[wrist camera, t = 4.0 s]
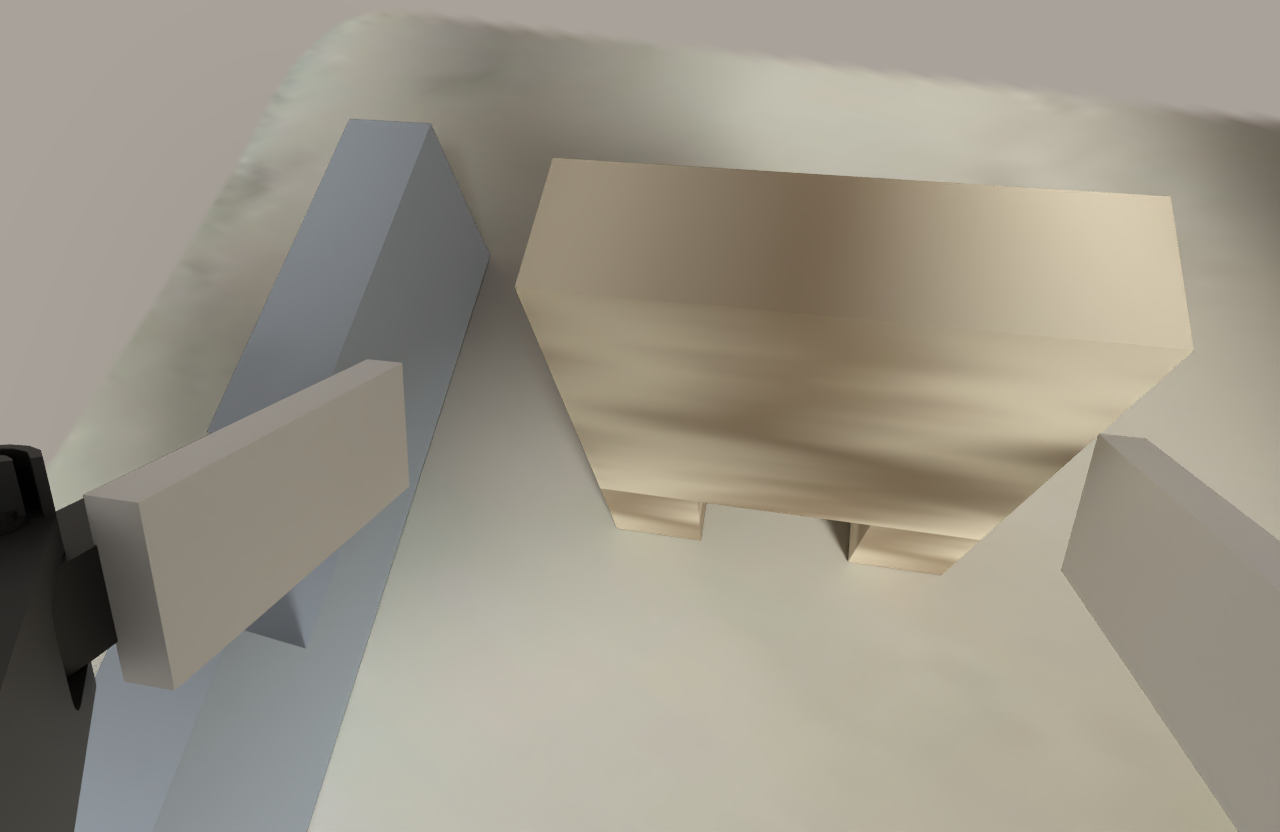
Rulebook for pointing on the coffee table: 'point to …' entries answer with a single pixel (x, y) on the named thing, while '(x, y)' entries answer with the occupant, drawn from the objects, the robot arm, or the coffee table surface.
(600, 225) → the wooden arch block
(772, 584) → the coffee table surface
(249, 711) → the grey rail
